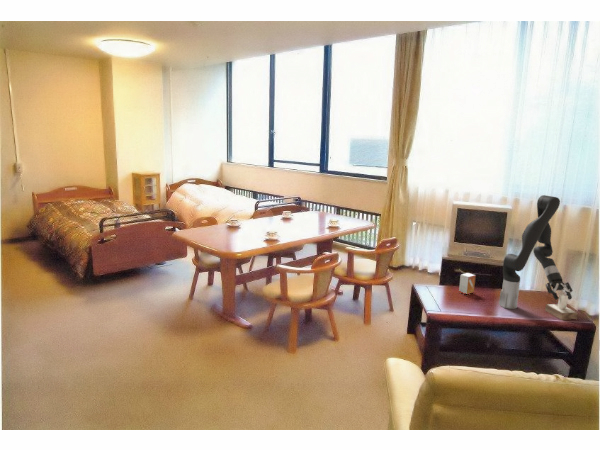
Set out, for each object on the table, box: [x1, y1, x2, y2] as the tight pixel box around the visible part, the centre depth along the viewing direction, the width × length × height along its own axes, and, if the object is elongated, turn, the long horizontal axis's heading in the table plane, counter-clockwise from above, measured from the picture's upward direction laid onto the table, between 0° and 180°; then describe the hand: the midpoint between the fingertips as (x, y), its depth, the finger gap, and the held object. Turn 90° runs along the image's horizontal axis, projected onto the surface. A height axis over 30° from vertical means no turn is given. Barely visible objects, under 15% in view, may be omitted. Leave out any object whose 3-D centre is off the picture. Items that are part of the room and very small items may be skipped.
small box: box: [458, 272, 477, 294], centre depth 290 cm, size 8×6×13 cm
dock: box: [544, 303, 579, 321], centre depth 256 cm, size 10×14×4 cm
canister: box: [557, 293, 569, 310], centre depth 255 cm, size 4×4×8 cm
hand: (563, 299), depth 254 cm, fingers open, 8 cm apart
